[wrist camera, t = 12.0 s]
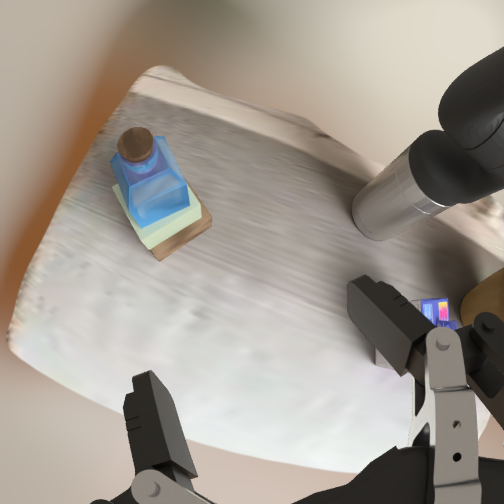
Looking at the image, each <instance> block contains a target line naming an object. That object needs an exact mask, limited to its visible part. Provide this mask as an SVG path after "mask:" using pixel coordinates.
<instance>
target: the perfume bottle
mask: <svg viewBox="0 0 504 504" xmlns="http://www.w3.org/2000/svg"><path fill="white" fill-rule="evenodd" d="M117 147H118V151H119V152H118V153H116V155H115V156H114V157H113V158H112V159H111V161H110V163H111V165H112V168H113V171H114V174H115V176H116V179H117V182H118V184H119V187H120V190H121V192H122V195H123V198H124V200H125V203H126V205H127V208H128V210H129V212H130V214H131V215H132V216H133V218H134V219H135V220H136V222H137V223H138V224H139V226H140V227H141V228H144V227H146V226H148V225H150V224H152V223H154V222H156V221H159V220H161V219H163V218H165V217H167V216H169V215H171V214H173V213H175V212H178V211H180V210H182V209H184V208H186V207H188V206H190V201H189V194H188V188H187V183H186V181H185V179H184V177H183V175H182V173H181V171H180V169H179V167H178V165H177V163H176V160H175V158H174V156H173V154H172V152H171V150H170V148H169V146H168V144H167V141H166V139H165V137H164V136H153V135H152V133H151V132H150V131H149V130H147V129H146V128H142V127H135V128H131V129H129V130H127V131H126V132H124V133H123V134H122V135H121V137H120V138H119V140H118V144H117Z"/></svg>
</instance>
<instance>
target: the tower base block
mask: <svg viewBox="0 0 504 504" xmlns="http://www.w3.org/2000/svg"><path fill="white" fill-rule="evenodd" d="M184 179H185V178H184ZM185 181H186V180H185ZM186 183H187V184H188V182H187V181H186ZM188 186H189V187H190V185H189V184H188ZM190 189H191V190H192V192H193V194H194V195H195V197H196V198H197V200H198V201H199V203H200V204H201V216H202V218H200V219H199V220H197V221H195V222H194V223H192V224H190V225H189V226H187V227H185V228H184V229H182V230H181V231H179V232H177V233H176V234H174V235H172V236H171V237H169V238H168V239H166V240H164V241H163V242H161V243H160V244H158V245H156V246H155V247H153V248H152V249H150V250H151V251H152V253H153V254H154V256H155V257H156V258H157V259H158V260H159V261H162V260H163V259H164V258H166V257H167V256H169V255H170V254H172V253H173V252H175V251H176V250H178V249H179V248H180V247H182V246H183V245H185V244H186V243H188V242H189V241H191V240H192V239H194V238H195V237H197V236H198V235H200V234H201V233H203V232H204V231H206V230H207V229H209V228H210V227H212V216H211V214H210V213H209V212H208V210H207V209H206V207H205V206H204V205H203V203H202V202H201V201H200V199H199V198H198V196H197V195H196V194H195V192H194V191H193V189H192V188H191V187H190Z"/></svg>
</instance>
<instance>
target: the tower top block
mask: <svg viewBox="0 0 504 504" xmlns="http://www.w3.org/2000/svg"><path fill="white" fill-rule="evenodd" d="M187 188H188V194H189V201H190V206H188V207H186V208H184V209H182V210H180V211H178V212H175V213H173V214H171V215H169V216H167V217H165V218H163V219H161V220H159V221H156V222H154V223H152V224H150V225H148V226H146V227H144V228H141V227H140V226H139V224H138V223H137V222H136V220H135V219H134V218H133V216H132V215H131V214H130V212H129V210H128V208H127V205H126V203H125V200H124V198H123V195H122V192H121V190H120V187H119V184H118V183H117V184H115V185H114V186H112V189H113V191H114V193H115V194H116V196H117V198H118V200H119V202H120V204H121V206H122V208H123V210H124V211H125V213H126V215H127V217H128V219H129V221H130V222H131V224H132V226H133V228H134V230H135V231H136V233H137V235H138V237H139V238H140V240H141V242H142V243H143V244H144V245H145V246H146V247H147V248H148V250H150V249H152V248H153V247H155V246H156V245H158V244H160V243H161V242H163V241H164V240H166V239H168V238H169V237H171V236H172V235H174V234H176V233H177V232H179V231H181V230H182V229H184V228H185V227H187V226H189V225H190V224H192V223H194V222H195V221H197V220H199V219H200V218H202V216H201V204H200V203H199V201H198V200H197V198H196V197H195V195H194V194H193V192H192V190H191V189H190V187H189V186H188V184H187Z"/></svg>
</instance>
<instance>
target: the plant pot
mask: <svg viewBox="0 0 504 504" xmlns="http://www.w3.org/2000/svg"><path fill="white" fill-rule="evenodd" d="M481 312H490V313H493V314H495V315H496V316H498V317H499V318H500V319H501V320H502V321H503V322H504V268H502V269H500V270H499V271H497V272H495V273H494V274H492V275H491V276H489V277H488V278H486V279H485V280H484V281H482V282H481V283H480V284H478V285H477V286H476V287H475V288H473V289H472V290H471V291H470V292H469V293H467V294H466V295H465V297H464V298H463V300H462V303H461V308H460V316H461V320H462V323H463V325H464V326H467V325H470V324H472V323H473V321H474V319H475V317H476V316H477V315H478V314H479V313H481Z"/></svg>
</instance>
